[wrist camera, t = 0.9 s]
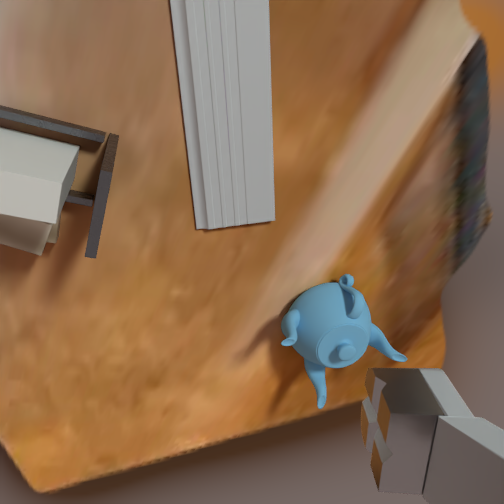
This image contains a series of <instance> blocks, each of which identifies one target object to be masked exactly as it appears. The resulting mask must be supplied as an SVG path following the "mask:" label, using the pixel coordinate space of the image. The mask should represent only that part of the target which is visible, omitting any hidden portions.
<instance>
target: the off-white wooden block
mask: <svg viewBox="0 0 504 504" xmlns="http://www.w3.org/2000/svg"><path fill="white" fill-rule="evenodd" d="M79 148H80V146H78V145H74V144H70V143H66V142H62V141H58V140H54V139H49V138H45V137H41V136H37V135H33V134H29V133H25V132H20V131H16V130H12V129H8V128H4V127H0V214H5V215H10V216H16V217H21V218H27V219H32V220H37V221H43V222H48V223H54V224H56V222H57V220H58V217H59V215H60V212H61V210H62V208H63V205H64V203H65V200H66V198H67V195H68V193H69V191H70V188H71V186H72V183H73V181H74V178H75V172H76V166H77V160H78V154H79Z"/></svg>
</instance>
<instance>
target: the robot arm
mask: <svg viewBox="0 0 504 504" xmlns="http://www.w3.org/2000/svg"><path fill="white" fill-rule="evenodd" d="M365 387H366V390H367V393H368V397H367V398H366V399H365V400H364V401H363V402H362V411H361V430H362V436H363V441H364V445H365V448H366V449H367V450H368V451H369V452H370V453H372V457H371V464H370V465H371V469H372V472H373V475H374V479H375V482H376V485H377V488H378V491H379V492H388V493H389V492H390V493H403V494H419V495H423V498H424V499H425V500H426V501H427V502H428V503H429V504H504V430H502V429H500V428H499V427H497V426H495V425H494V424H492V423H490V422H488V421H487V420H485V419H484V418H478V417H477V418H476V417H474V416H473V414H472V413H471V411H470V410H469V408H468V407H467V405H466V404H465V402H464V401H463V399H462V398H461V397H460V395H459V394H458V392H457V391H456V389H455V388H454V386H453V385H452V383H451V382H450V380H449V379H448V377H447V376H446V374H445V373H444V371H443V370H441V369H439V368H368V370H367V373H366V379H365Z"/></svg>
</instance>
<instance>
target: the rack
mask: <svg viewBox="0 0 504 504" xmlns="http://www.w3.org/2000/svg"><path fill="white" fill-rule="evenodd" d="M0 118H5V119H9V120H13V121H17V122H21V123H25V124H29V125H33V126H37V127H41V128H45V129H49V130H53V131H57V132H61V133H65V134H69V135H73V136H77V137H82V138H86V139H90V140H94V141H98V142H102V143H103V142H104V138H105V133H106V132H103V131H99V130H95V129H91V128H87V127H84V126H80V125H76V124H72V123H68V122H64V121H60V120H56V119H52V118H48V117H44V116H40V115H36V114H32V113H29V112H25V111H21V110H17V109H13V108H9V107H5V106H1V105H0ZM118 138H119V135H115V134H111V133H110V136H109V140H108V143H107V147H106V151H105V155H104V159H103V163H102V167H101V171H100V176H99V181H98V187H97V192H96V198H95V203H94V209H93V214H92V220H91V225H90V231H89V236H88V241H87V247H86V252H85V257H90V258H96V255H97V250H98V245H99V239H100V234H101V229H102V224H103V219H104V214H105V208H106V203H107V198H108V193H109V188H110V183H111V178H112V172H113V167H114V161H115V155H116V150H117V144H118ZM93 199H94V195H93V194H88V193H83V192H78V191H74V190H70V191H69V193H68V195H67V198H66V200H65V201H66V202H71V203H76V204H81V205H86V206H91V207H92V203H93Z"/></svg>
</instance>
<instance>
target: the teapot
mask: <svg viewBox="0 0 504 504" xmlns="http://www.w3.org/2000/svg"><path fill="white" fill-rule="evenodd" d="M353 283H354V279H353V277H352V276H351V275H349V274H345V275H343V276H342V277H341V278H340V280H339V283H324V284H320V285H317V286H314V287H312V288H310V289H308V290H307V291H305V292H304V293H302V294H301V295H300V296H299V297H298V298H297V299H296V300H295V301H294V303H293V304H292V306H291V307H290V309H289V311H288V312H287V313H286V314H285V316H284V317H283V319H282V323H281V329H282V332H283V334H284V335H285V336H286V339H285V340H283V341H282V342H281V344H282V345H283V346H291V345H292V347H293V348H294V349H295V350H296V351H297V352H298V353H299V354H300V355H301V356H302V357H304V364H305V369H306V372H307V374H308V376H309V378H310V380H311V381H312V383H313V385H314V387H315V389H316V392H317V405H318V408H319V409H321V408H323V406H324V404H325V402H326V383H325V367H329V368H342V367H346V366H348V365H351V364H352V363H354V362H356V361H357V360H358V359H359V358H360V357H361V356H362V355H363V354H364V352H365V350H366V348H367V346H368V345H370V346H372V347H374V348H376V349H377V350H379V351H380V352H381V353H383V354H384V355H386V356H387V357H389V358H391V359H392V360H395V361H399V362H405V361H407V358H406V357H405V356H404V355H402V354H400V353H399V352H397V351H396V350H394V349H393V348H392V347H391V346H390V344H389V343H388V341H387V339H386V338H385V336H384V334H383V333H382V331H381V330H380V329H379V328H378V327H377V326H375V325H374V324H372V323H371V316H370V312H369V309H368V306H367V304H366V301H365V300H364V297H363V295H362V294H361V293H360V292H359V291H358V290H356V289H354V288H353V287H351V286H352V285H353Z"/></svg>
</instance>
